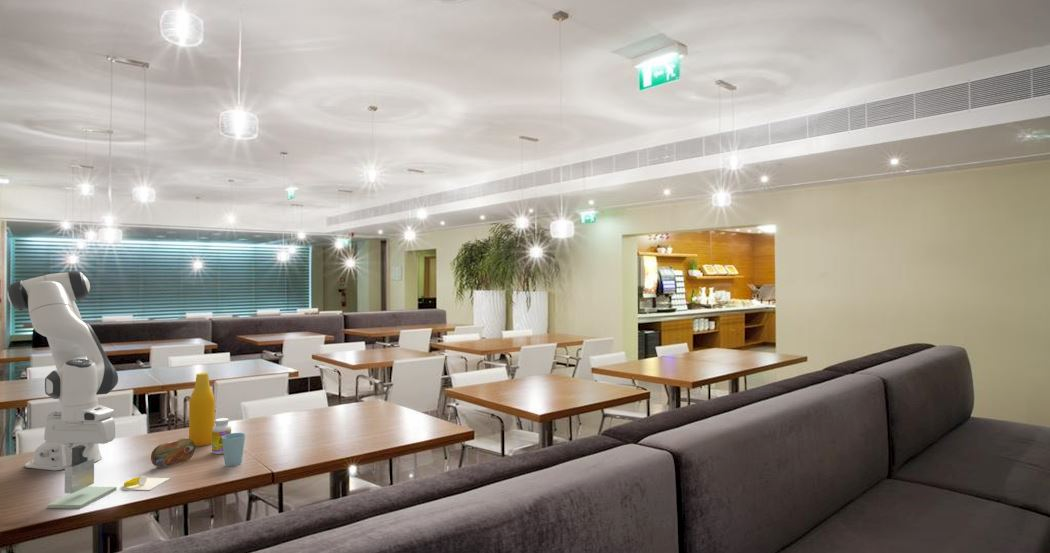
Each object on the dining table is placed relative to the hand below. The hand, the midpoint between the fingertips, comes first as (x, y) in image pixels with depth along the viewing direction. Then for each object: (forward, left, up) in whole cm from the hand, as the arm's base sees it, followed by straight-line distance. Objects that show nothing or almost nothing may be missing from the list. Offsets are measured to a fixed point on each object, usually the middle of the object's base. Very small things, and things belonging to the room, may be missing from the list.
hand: (79, 456), depth 170 cm
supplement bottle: (+18, +47, -14) cm, 52 cm away
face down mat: (+12, +13, -13) cm, 22 cm away
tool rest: (+1, +1, -13) cm, 13 cm away
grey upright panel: (0, 0, -10) cm, 10 cm away
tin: (+8, +33, -14) cm, 36 cm away
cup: (+30, +34, -14) cm, 47 cm away
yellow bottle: (+4, +57, -14) cm, 58 cm away
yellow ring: (+6, +12, -13) cm, 19 cm away
